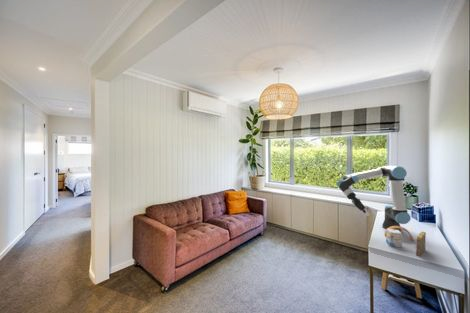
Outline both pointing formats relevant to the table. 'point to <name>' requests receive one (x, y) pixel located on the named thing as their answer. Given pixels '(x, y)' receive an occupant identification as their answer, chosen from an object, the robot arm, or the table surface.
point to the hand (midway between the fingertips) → (368, 215)
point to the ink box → (394, 238)
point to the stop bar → (420, 243)
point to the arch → (399, 228)
